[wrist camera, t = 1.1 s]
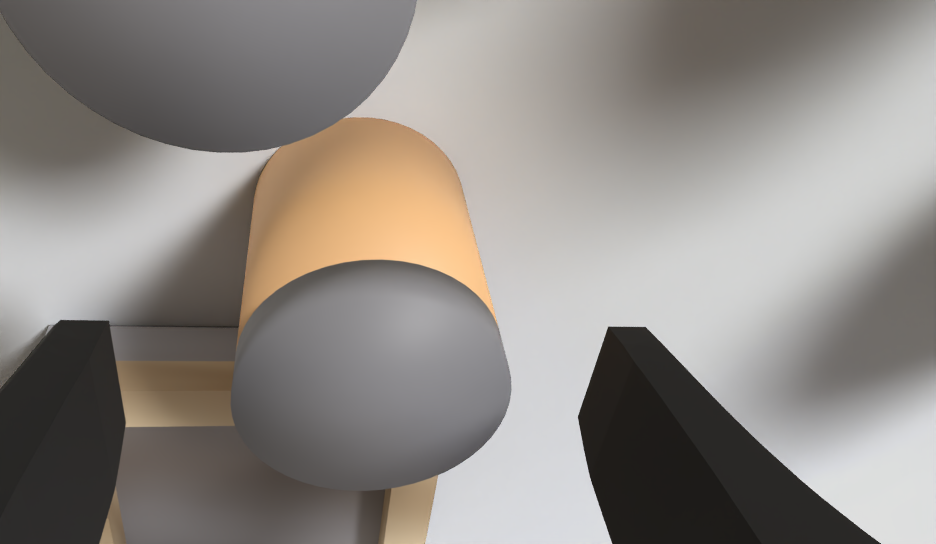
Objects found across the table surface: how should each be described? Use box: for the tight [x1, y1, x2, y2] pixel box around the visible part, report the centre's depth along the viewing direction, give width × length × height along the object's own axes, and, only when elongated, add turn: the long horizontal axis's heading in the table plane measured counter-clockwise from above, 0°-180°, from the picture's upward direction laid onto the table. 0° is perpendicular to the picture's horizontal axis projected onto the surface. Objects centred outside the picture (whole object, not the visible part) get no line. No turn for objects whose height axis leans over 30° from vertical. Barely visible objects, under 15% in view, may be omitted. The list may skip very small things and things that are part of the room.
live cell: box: [230, 117, 511, 491], centre depth 13 cm, size 4×4×5 cm
